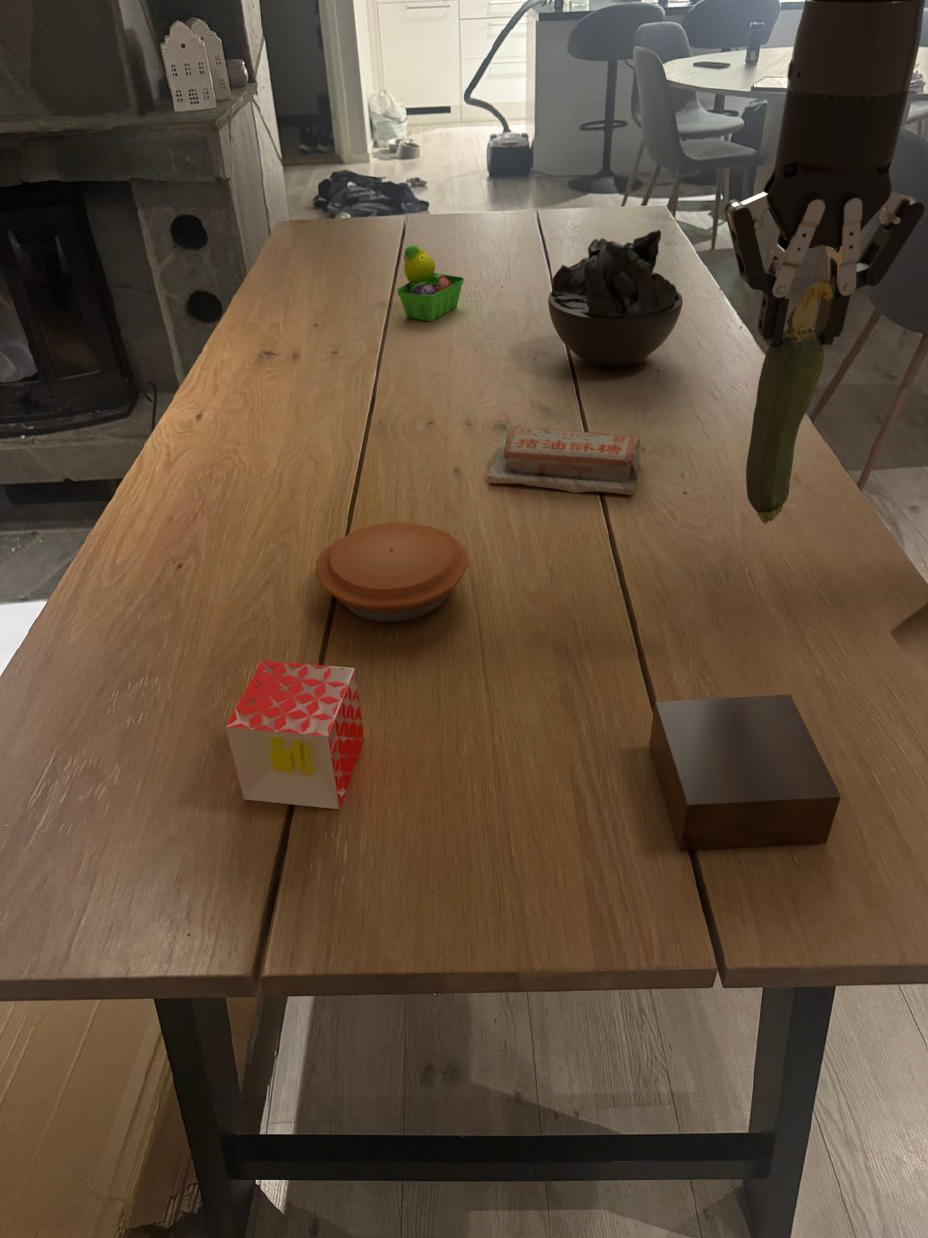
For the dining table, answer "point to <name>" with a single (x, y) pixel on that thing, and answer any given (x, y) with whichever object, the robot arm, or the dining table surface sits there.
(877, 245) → the robot arm
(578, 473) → the packaged product
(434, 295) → the fruit basket
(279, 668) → the red patterned cube box
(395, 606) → the pie
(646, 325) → the bowl of black rocks
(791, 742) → the block
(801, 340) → the vegetable
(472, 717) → the dining table surface
